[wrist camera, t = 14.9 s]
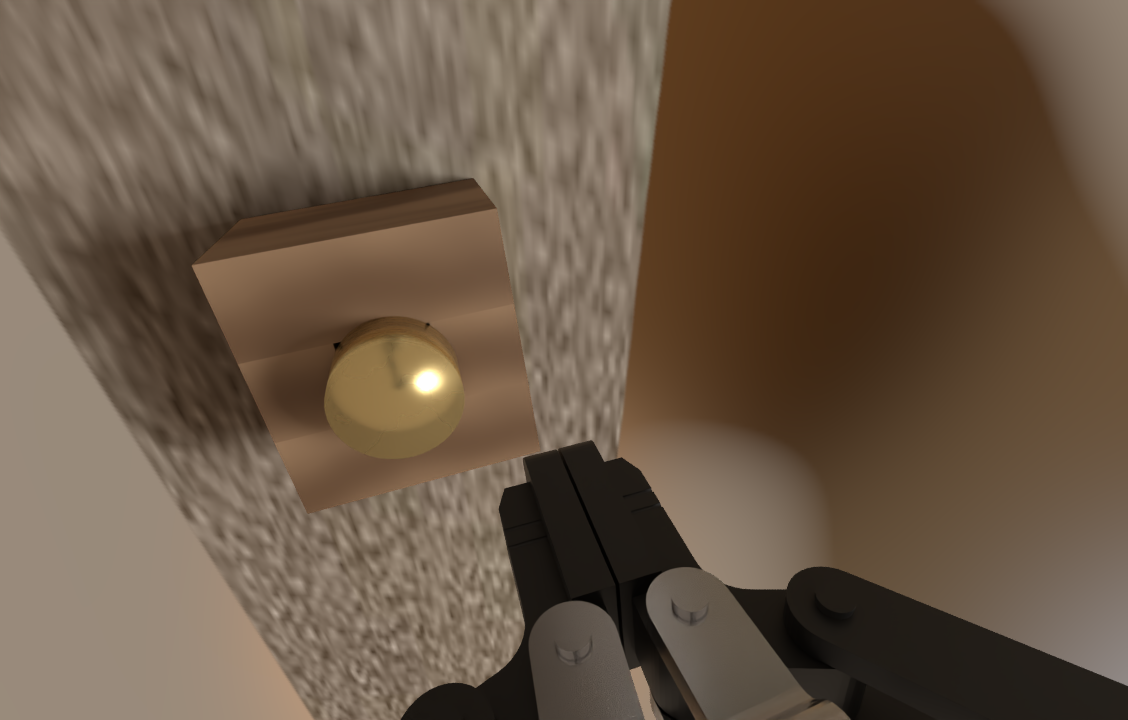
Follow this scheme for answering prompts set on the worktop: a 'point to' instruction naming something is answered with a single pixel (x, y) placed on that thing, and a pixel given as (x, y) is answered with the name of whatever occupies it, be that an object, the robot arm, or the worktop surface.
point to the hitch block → (357, 295)
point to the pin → (394, 388)
